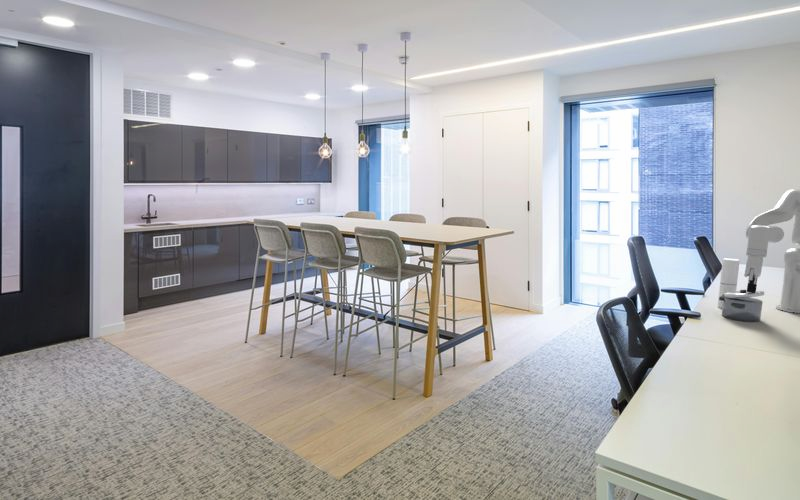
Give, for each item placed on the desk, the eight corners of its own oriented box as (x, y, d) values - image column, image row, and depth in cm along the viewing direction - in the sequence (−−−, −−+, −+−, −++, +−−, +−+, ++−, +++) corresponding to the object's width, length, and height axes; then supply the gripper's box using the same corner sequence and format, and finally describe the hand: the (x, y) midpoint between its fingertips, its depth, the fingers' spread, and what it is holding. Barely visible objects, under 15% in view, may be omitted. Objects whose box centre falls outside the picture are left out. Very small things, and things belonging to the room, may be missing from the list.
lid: (728, 293, 242) (727, 288, 242) (767, 292, 230) (766, 286, 230) (719, 298, 231) (719, 293, 231) (760, 297, 219) (759, 291, 219)
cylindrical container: (719, 308, 249) (725, 259, 246) (715, 305, 256) (720, 258, 253) (736, 309, 247) (741, 260, 244) (731, 306, 254) (736, 258, 251)
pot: (724, 310, 245) (726, 292, 244) (764, 317, 233) (766, 298, 232) (713, 317, 231) (715, 298, 230) (755, 325, 220) (757, 305, 219)
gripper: (750, 251, 233) (744, 289, 235) (743, 252, 223) (737, 292, 225) (769, 253, 228) (764, 291, 230) (763, 254, 217) (757, 295, 220)
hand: (751, 292), depth 228 cm, fingers closed
